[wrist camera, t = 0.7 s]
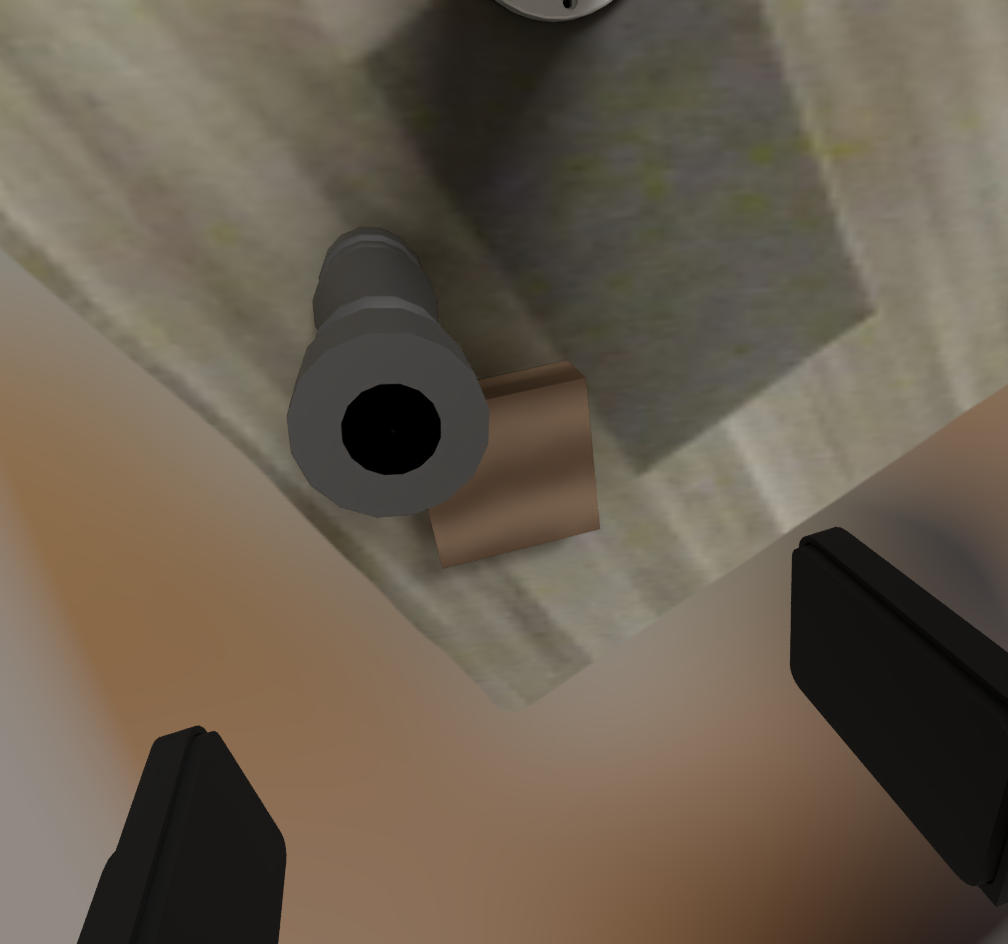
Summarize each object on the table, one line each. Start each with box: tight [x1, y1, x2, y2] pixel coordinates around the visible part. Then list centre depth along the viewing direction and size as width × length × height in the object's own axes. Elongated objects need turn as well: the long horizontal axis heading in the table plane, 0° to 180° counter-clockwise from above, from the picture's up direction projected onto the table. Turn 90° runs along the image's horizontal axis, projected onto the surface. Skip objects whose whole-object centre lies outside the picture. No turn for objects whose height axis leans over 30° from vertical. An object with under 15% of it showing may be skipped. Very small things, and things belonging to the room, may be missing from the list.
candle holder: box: [287, 228, 489, 517], centre depth 29 cm, size 6×6×25 cm
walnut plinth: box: [428, 360, 600, 568], centre depth 45 cm, size 12×12×4 cm
